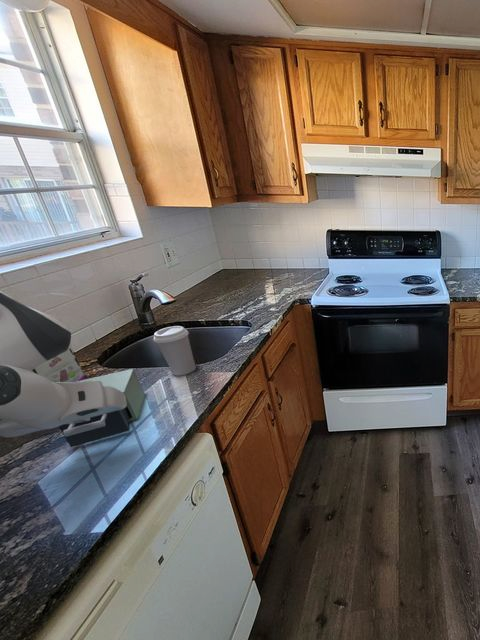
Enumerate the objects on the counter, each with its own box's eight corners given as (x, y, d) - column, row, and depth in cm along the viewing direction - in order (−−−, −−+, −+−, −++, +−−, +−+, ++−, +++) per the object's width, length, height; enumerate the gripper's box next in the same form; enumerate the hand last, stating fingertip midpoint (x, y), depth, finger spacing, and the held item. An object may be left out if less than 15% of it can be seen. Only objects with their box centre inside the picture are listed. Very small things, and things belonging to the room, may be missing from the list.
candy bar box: (80, 393, 113) (54, 346, 106) (96, 393, 113) (71, 346, 106) (44, 416, 103) (12, 365, 96) (61, 415, 103) (31, 365, 96)
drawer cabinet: (137, 419, 100) (124, 391, 96) (77, 436, 94) (60, 407, 91) (145, 394, 112) (133, 368, 108) (91, 407, 106) (77, 381, 102)
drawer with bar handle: (125, 442, 90) (113, 418, 87) (64, 460, 85) (48, 435, 82) (137, 405, 105) (127, 383, 102) (85, 418, 100) (73, 396, 97)
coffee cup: (188, 362, 130) (173, 323, 124) (207, 366, 127) (193, 326, 121) (161, 375, 122) (143, 335, 115) (181, 379, 119) (164, 338, 112)
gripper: (-28, 439, 68) (21, 448, 80) (112, 404, 78) (137, 417, 89) (-29, 408, 70) (19, 421, 82) (108, 377, 79) (133, 393, 91)
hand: (81, 419), depth 86 cm, fingers closed
